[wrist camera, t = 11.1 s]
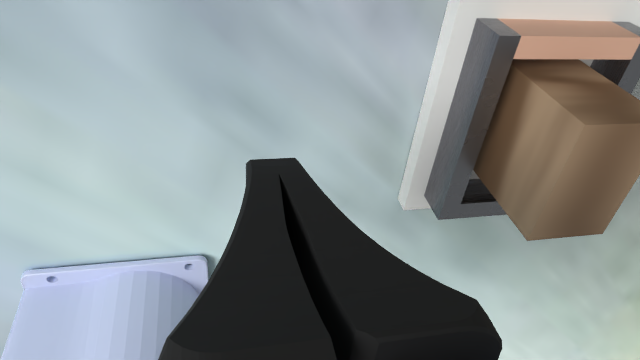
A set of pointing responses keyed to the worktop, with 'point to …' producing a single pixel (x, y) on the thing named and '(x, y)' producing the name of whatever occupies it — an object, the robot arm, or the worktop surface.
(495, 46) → the grey tray
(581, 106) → the plug block
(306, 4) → the worktop surface
